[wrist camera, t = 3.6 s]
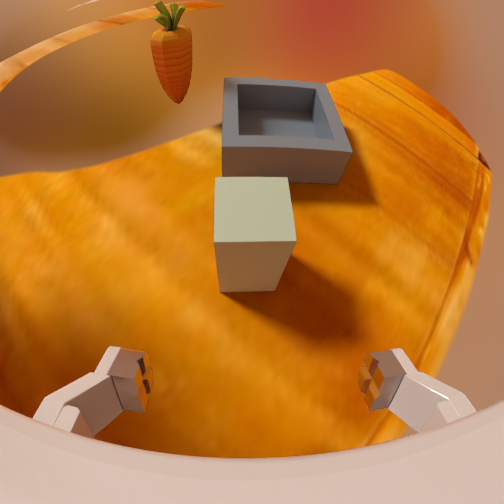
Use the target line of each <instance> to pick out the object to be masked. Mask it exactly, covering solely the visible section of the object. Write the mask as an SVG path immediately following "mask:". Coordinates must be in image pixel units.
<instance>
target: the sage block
mask: <svg viewBox="0 0 504 504" xmlns="http://www.w3.org/2000/svg"><path fill="white" fill-rule="evenodd" d="M296 241H297V240H296V232H295V225H294V218H293V210H292V203H291V197H290V190H289V183H288V177H215V207H214V247H215V256H216V264H217V273H218V281H219V289H220V292H255V291H275V289H276V287H277V284H278V282H279V280H280V278H281V276H282V273H283V271H284V269H285V267H286V264H287V262H288V260H289V257H290V255H291V253H292V251H293V248H294V246H295V244H296Z"/></svg>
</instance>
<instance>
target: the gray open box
mask: <svg viewBox="0 0 504 504" xmlns="http://www.w3.org/2000/svg"><path fill="white" fill-rule="evenodd" d="M352 153H353V151H352V148H351V146H350V143H349V140H348V137H347V135H346V132H345V130H344V127H343V124H342V122H341V119H340V117H339V115H338V112H337V110H336V107H335V105H334V103H333V100H332V98H331V96H330V93H329V91H328V89H327V87H326V84H323V83H314V82H305V81H295V80H282V79H264V78H224V92H223V119H222V177H288V182H293V183H322V184H338V183H339V181H340V179H341V177H342V175H343V172H344V170H345V168H346V166H347V164H348V162H349V160H350V158H351V155H352Z"/></svg>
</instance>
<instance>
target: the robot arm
mask: <svg viewBox="0 0 504 504" xmlns="http://www.w3.org/2000/svg"><path fill="white" fill-rule="evenodd" d="M149 361H150V357H149V353H148V352H147V351H144V350H136V349H129V348H121V347H115V346H110V347H108V348H107V350H106V352H105V354H104V355H103V357H102V359H101V361H100V362H99V364H98V366H97V368H96V370H95V372H94V373H93V372H90V373H88V374H86V375H84V376H83V377H81V378H79V379H77V380H75V381H74V382H72V383H70V384H68V385H66V386H64V387H63V388H61V389H59V390H57V391H55V392H53V393H52V394H50V395H48V396H46V397H45V398H44V399H43V401H42V403H41V404H40V406H39V408H38V410H37V411H36V413H35V415H34V416H33V418H30V417H27V416H25V415H22V414H20V413H18V412H15V411H13V410H11V409H9V408H6V407H4V406H2V405H0V504H504V399H503V400H501V401H499V402H497V403H495V404H493V405H491V406H488V407H486V408H484V409H482V410H479V411H476V410H475V409H474V407H473V406H472V404H471V403H470V402H469V400H468V399H467V397H466V396H465V394H463V393H461V392H460V391H458V390H456V389H454V388H452V387H450V386H448V385H446V384H444V383H442V382H440V381H438V380H436V379H434V378H432V377H430V376H428V375H426V374H425V373H423V372H418V371H417V370H416V368H415V367H414V365H413V364H412V363H411V361H410V360H409V358H408V357H407V355H406V354H405V353H404V351H403V350H402V349H401V348H396V349H389V350H383V351H374V352H367V353H366V354H365V356H364V358H363V362H364V364H365V365H363V366H362V367H361V368H360V370H359V373H358V385H359V388H360V391H361V392H363V393H364V394H366V396H365V398H364V400H365V402H366V404H367V406H368V409H369V411H371V410H378V409H384V408H388V409H389V410H390V411H391V412H393V413H394V414H395V415H396V416H398V417H399V418H400V419H402V420H403V421H404V422H405V423H407V424H408V425H409V426H410V427H412V428H413V429H414V430H416V431H417V432H418V433H417V434H414V435H410V436H407V437H403V438H399V439H395V440H391V441H387V442H383V443H379V444H374V445H370V446H365V447H360V448H354V449H349V450H343V451H336V452H330V453H322V454H314V455H304V456H292V457H276V458H216V457H200V456H188V455H178V454H170V453H162V452H155V451H149V450H143V449H137V448H132V447H127V446H122V445H117V444H113V443H108V442H104V441H100V440H96V439H95V438H94V436H95V435H96V434H97V433H98V432H100V431H101V430H102V429H103V428H104V427H105V426H107V425H108V424H109V423H110V422H111V421H112V420H114V419H115V418H116V417H117V416H118V415H119V414H121V413H122V412H123V410H126V411H133V412H140V413H145V409H146V406H147V403H148V397H147V394H148V393H150V392H151V389H152V385H153V372H152V368H151V367H150V366H149V365H148V364H149Z"/></svg>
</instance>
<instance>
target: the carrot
mask: <svg viewBox="0 0 504 504" xmlns="http://www.w3.org/2000/svg"><path fill="white" fill-rule="evenodd" d="M155 6H156V8H157V9H158V10H159V12H160V13H161V14H159V15H157V16H156V17H155V18H154V19H155V20H156V21H157V22H159V23H160V24H161V25H163V26H164V27H163V28H160V29H158V30H156V31H155V32H154V33H153V34H152V38H151V49H152V55H153V60H154V65H155V69H156V72H157V75H158V78H159V80H160V83H161V85H162V87H163V89H164V90H165V92H166V93H167V95H168V96H169V97H170V98H171V99H172V100H173V101H174V102H175V103H178V104H179V103H181V102H182V101H183V99H184V97H185V95H186V93H187V91H188V88H189V85H190V79H191V72H192V35H191V30H190V28H188V27H187V26H181V25H178V22H179V20H180V17H181V15H182V13H183V12H184V10H185V8H186V7H185V6H182V5H181V6H180V7H179V9H178V6H177V4H175V3H172V4H170V7H171V11H172V18H171V16H170V13H169V12H168V10H167V8H166V7H165V5H164V4H163V3H162V2H161V1H158V2H156V3H155Z"/></svg>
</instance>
